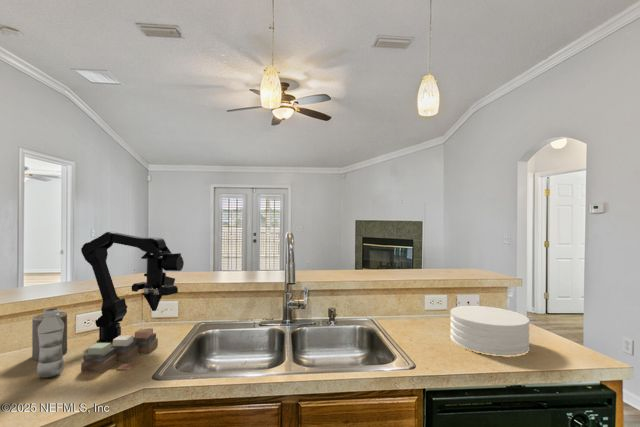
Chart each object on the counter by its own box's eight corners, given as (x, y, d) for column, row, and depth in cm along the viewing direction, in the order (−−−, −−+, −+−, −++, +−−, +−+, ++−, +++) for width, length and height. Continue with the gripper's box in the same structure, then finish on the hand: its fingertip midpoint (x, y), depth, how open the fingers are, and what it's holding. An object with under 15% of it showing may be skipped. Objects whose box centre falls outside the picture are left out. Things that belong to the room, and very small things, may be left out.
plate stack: (449, 350, 131) (449, 319, 131) (451, 328, 157) (451, 303, 157) (535, 363, 120) (536, 329, 121) (522, 337, 146) (523, 310, 146)
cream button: (112, 347, 118) (112, 339, 118) (120, 342, 122) (120, 335, 122) (126, 347, 118) (126, 339, 118) (133, 342, 122) (133, 335, 122)
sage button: (87, 356, 110) (88, 348, 110) (96, 350, 115) (96, 342, 115) (102, 356, 110) (102, 348, 110) (110, 350, 115) (110, 342, 115)
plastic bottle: (69, 372, 108) (70, 307, 108) (45, 382, 102) (47, 313, 102) (54, 369, 110) (55, 306, 111) (30, 378, 104) (32, 311, 104)
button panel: (81, 372, 109) (81, 356, 109) (119, 346, 131) (120, 332, 131) (126, 372, 109) (126, 356, 109) (157, 346, 131) (157, 332, 131)
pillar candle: (55, 347, 128) (55, 307, 128) (73, 351, 125) (73, 309, 125) (25, 358, 119) (25, 314, 119) (43, 362, 116) (43, 317, 116)
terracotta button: (134, 339, 125) (134, 332, 125) (140, 335, 130) (140, 328, 130) (147, 339, 125) (147, 332, 125) (153, 335, 130) (153, 328, 130)
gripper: (188, 269, 139) (188, 308, 139) (154, 266, 147) (154, 303, 147) (166, 273, 129) (165, 315, 129) (130, 269, 137) (130, 309, 137)
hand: (154, 310), depth 136 cm, fingers closed
